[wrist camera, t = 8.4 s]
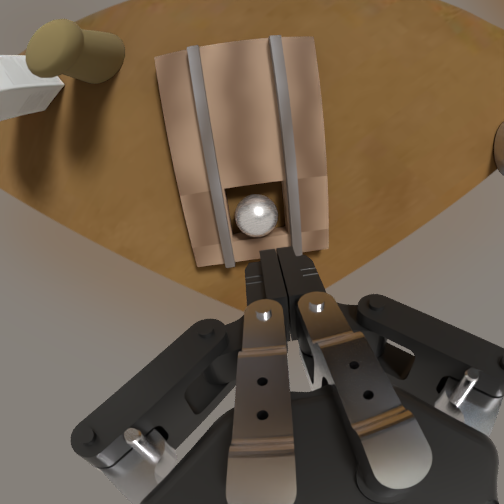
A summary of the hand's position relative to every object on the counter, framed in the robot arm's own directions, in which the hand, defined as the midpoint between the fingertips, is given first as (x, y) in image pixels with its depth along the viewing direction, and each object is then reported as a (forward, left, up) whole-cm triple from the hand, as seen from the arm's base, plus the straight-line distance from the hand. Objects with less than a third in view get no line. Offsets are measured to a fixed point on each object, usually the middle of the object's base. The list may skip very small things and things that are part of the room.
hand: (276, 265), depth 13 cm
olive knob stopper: (+14, -16, -19) cm, 28 cm away
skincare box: (+22, -16, -19) cm, 33 cm away
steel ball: (0, +4, -17) cm, 17 cm away
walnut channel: (0, -2, -19) cm, 19 cm away
